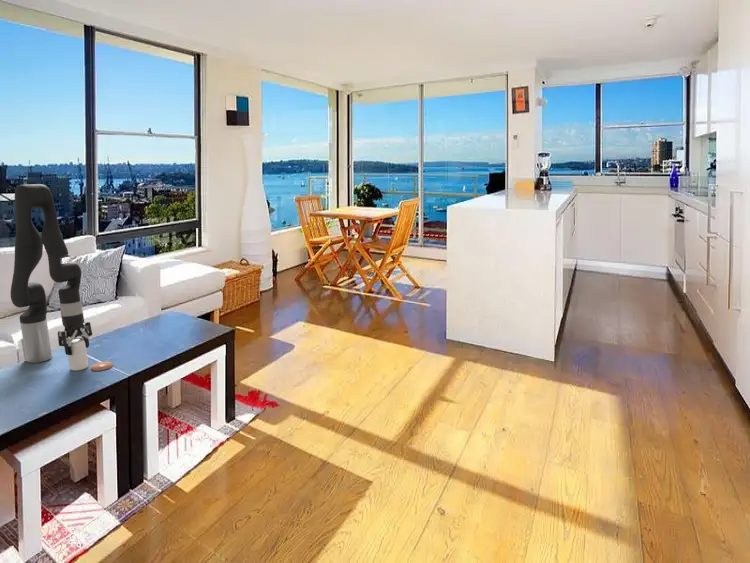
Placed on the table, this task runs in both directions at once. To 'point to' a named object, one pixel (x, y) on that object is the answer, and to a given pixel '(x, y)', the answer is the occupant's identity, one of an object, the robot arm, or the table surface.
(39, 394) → the table surface
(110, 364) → the peach round disc
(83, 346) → the can
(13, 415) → the table surface
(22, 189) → the robot arm
